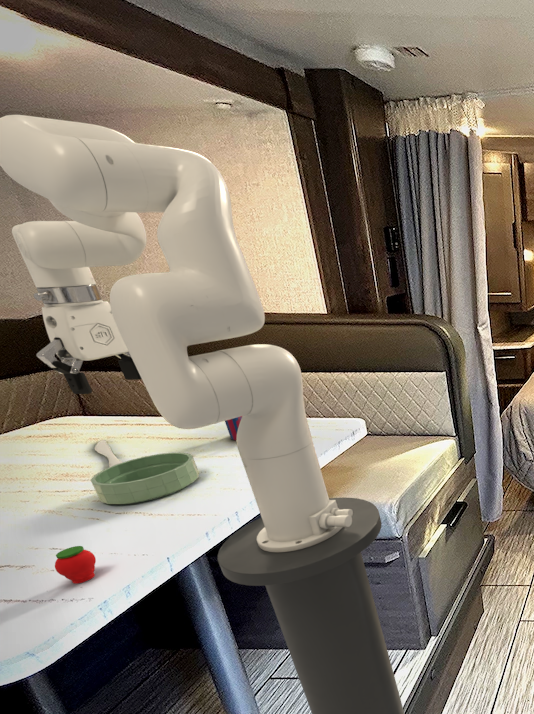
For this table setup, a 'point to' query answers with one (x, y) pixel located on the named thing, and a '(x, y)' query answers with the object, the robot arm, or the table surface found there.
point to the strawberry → (76, 564)
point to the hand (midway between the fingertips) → (109, 386)
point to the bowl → (145, 478)
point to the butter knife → (107, 453)
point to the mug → (233, 427)
